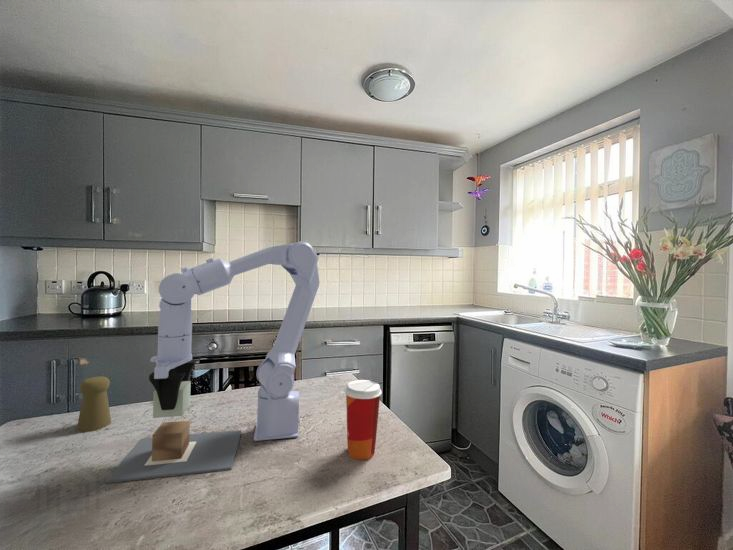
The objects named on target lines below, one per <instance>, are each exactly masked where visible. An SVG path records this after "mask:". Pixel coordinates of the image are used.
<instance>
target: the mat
mask: <svg viewBox="0 0 733 550" xmlns="http://www.w3.org/2000/svg"><path fill="white" fill-rule="evenodd" d="M242 431H243V430H241V429H238V430H228V431H226V430H225V431H217V432H216V431H214V432H204V433H193V434H192V433H191V434H190V433H189V446H188V447H187V449H186V451H185V453H184V455H183V456H182V458H181V459H172V460H161V461H152V437H144V438H140V440H139V441H138V442H137V443H136V444H135V445H134V447H132V449H131V450H130V451H129V453H127V455H126V456H125V457H124V458H123V460H121V462H120V463H119V464H118V466H117V467H116V468H115V469H114V470H113V471H112V473H111V474H110V475H109V476H108V477H107V479H106V480H105V481H104V483H105V484H114V483H121V482H130V481H131V482H132V481H139V480H140V481H141V480H147V479H150V480H151V479H159V478H167V477H174V476H175V477H176V476H185V475H193V474H194V475H195V474H202V473H203V474H204V473H212V472H220V471H231V470H233V469H232V468H233V464H234V460H235V456H236V454H237V450H238V446H239V442H240V439H241V435H242Z"/></svg>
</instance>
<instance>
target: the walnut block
mask: <svg viewBox="0 0 733 550" xmlns="http://www.w3.org/2000/svg"><path fill="white" fill-rule="evenodd" d="M190 424H191V421H190V420H181V421H166V422H164V421H163V422H162V423H161V424H160V425H159V426H158V428H157V429H156V430H155V431H154V433H153V434H152V437H151V438H152V461H161V460H172V459H181V458H182V456H183V455H184V453H185V451H186V449H187V447H188V446H189V434H190V427H191V426H190Z"/></svg>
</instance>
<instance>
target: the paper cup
mask: <svg viewBox="0 0 733 550" xmlns="http://www.w3.org/2000/svg"><path fill="white" fill-rule="evenodd" d="M344 393H345V396H346V403H345V404H346V433H347V434H346V437H347V454H348V456H349V455H350V456H349V457H351V458H352V459H354V458H355V460H357V461H359V460H360V461H363V459H366V460H369V459H371V458H372V457H374V455H375V450H376V443H377V433H378V432H377V431H378V422H379V411H380V410H379V409H380V400H381V399H380V398H381V395H382V394H383V393H382V389H381V386H380V384H379V383H376V382H374V381H372V380H368V379H356V380H353V381H349V382H348V383H347V385H346V388H345V389H344ZM370 457H371V458H370ZM368 458H369V459H368Z"/></svg>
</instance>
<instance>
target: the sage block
mask: <svg viewBox="0 0 733 550" xmlns="http://www.w3.org/2000/svg"><path fill="white" fill-rule="evenodd" d="M191 384H192V383H191V380H188V381H182V382H181V384H180V388H179V392H178V398H177V403H176V406H175V408H174V409H173V410H162V409H161V406H160V402H159V398H158V395H157V392H156V390H155V389H154V391H153V395H152V396H153V400H152V402H153V404H152V419H156V418H171V417H172V418H174V417H183V416H184V414H185V413H186V411H187V410H188V409H189V408H190V405H191V387H192V385H191Z"/></svg>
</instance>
